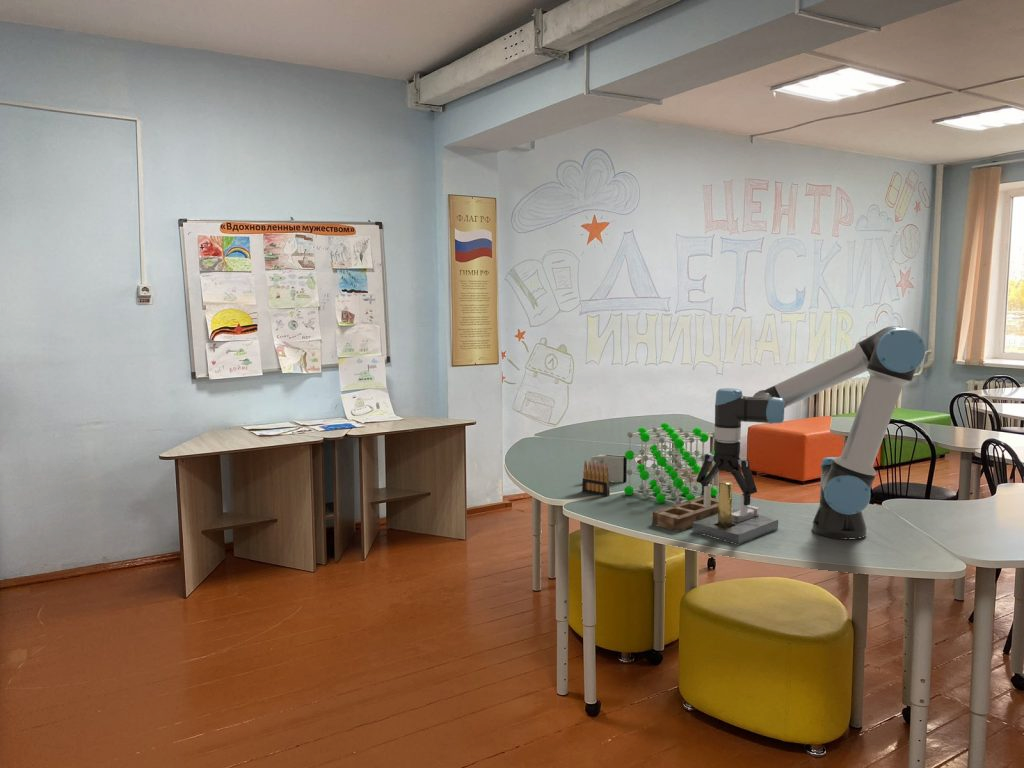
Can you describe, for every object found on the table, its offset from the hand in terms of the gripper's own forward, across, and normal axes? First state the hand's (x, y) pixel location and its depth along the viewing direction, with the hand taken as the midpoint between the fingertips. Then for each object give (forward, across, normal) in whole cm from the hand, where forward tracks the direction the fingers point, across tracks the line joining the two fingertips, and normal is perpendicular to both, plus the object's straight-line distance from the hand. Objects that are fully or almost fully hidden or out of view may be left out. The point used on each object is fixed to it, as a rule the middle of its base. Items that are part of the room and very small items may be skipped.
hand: (725, 510), depth 228 cm
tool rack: (+7, +16, -6) cm, 19 cm away
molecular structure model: (+8, +38, -24) cm, 46 cm away
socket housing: (+7, 0, -6) cm, 9 cm away
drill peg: (+7, 0, 0) cm, 7 cm away
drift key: (+4, 0, -10) cm, 11 cm away
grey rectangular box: (+8, +67, -23) cm, 71 cm away
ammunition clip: (+8, +58, -6) cm, 59 cm away
